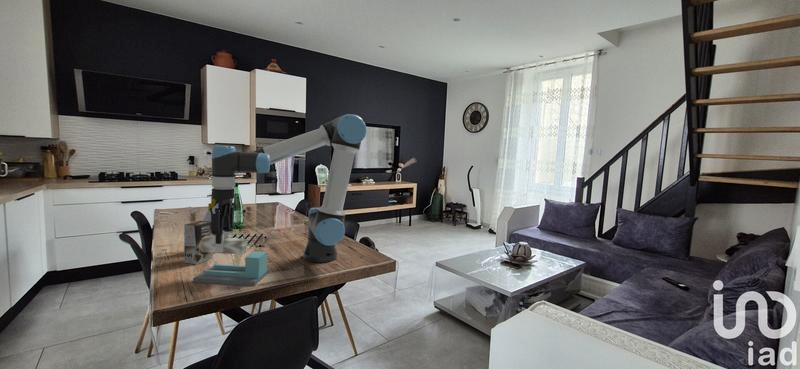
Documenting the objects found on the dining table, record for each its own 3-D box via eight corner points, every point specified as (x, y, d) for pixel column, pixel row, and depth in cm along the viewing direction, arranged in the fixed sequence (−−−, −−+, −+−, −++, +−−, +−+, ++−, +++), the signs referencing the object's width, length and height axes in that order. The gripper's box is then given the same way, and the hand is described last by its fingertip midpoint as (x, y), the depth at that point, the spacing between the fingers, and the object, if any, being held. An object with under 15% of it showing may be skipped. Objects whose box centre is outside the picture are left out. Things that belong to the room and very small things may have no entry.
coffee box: (197, 264, 138) (197, 225, 136) (183, 263, 139) (183, 224, 137) (213, 258, 147) (213, 221, 145) (200, 256, 148) (200, 220, 146)
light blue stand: (270, 271, 135) (270, 249, 134) (254, 285, 121) (255, 261, 120) (214, 268, 135) (214, 246, 134) (193, 282, 121) (192, 257, 120)
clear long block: (246, 252, 129) (246, 239, 128) (241, 254, 125) (242, 241, 125) (206, 249, 129) (207, 236, 128) (201, 251, 125) (201, 238, 125)
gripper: (224, 185, 133) (224, 243, 135) (199, 189, 116) (199, 256, 119) (244, 186, 133) (242, 244, 135) (221, 191, 116) (220, 257, 119)
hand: (222, 250), depth 127 cm, fingers closed on clear long block, 3 cm apart
